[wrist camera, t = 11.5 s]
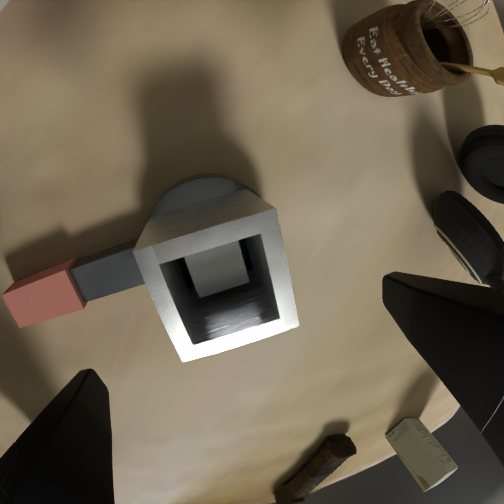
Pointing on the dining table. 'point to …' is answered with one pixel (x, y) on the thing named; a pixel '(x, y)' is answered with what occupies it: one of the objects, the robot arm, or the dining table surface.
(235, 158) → the dining table surface
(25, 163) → the dining table surface
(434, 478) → the skincare box
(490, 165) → the headphones
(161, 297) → the square hollow container
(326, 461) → the hand tool
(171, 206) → the ratchet
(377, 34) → the utensil holder
